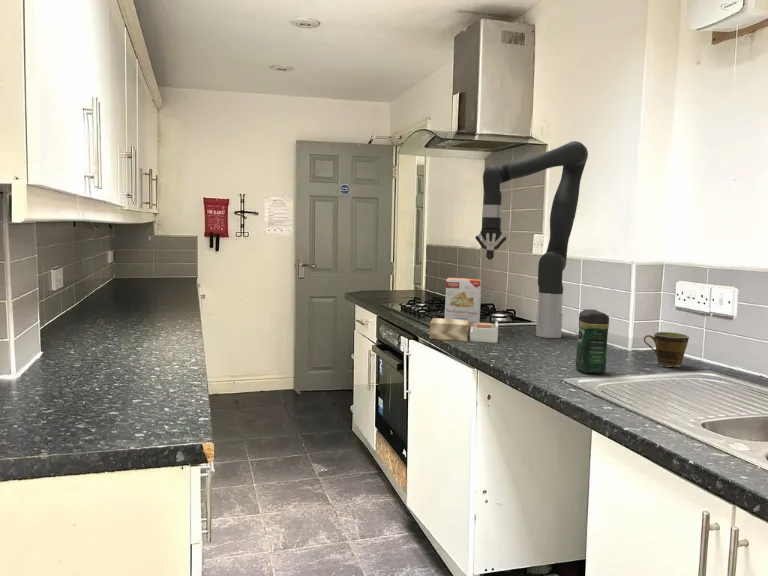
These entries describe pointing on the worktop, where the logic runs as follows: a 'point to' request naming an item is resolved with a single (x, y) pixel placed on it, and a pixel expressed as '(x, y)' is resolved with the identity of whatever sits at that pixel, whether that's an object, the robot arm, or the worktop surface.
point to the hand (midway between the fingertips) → (489, 259)
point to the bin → (484, 333)
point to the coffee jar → (592, 341)
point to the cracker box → (463, 300)
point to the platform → (449, 329)
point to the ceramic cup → (669, 348)
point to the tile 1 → (484, 325)
